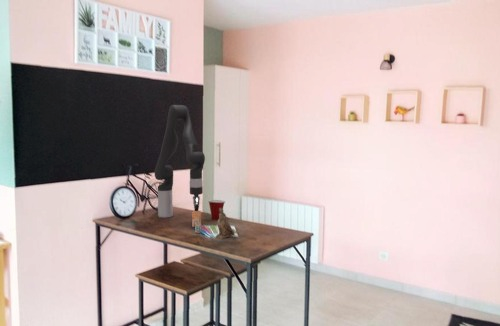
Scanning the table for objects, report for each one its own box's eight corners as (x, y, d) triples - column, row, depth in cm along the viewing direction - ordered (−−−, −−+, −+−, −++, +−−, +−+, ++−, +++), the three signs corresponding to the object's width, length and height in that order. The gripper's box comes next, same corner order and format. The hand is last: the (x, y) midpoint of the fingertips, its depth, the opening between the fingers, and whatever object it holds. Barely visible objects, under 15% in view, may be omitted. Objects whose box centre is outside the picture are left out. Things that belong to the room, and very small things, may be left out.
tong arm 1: (193, 225, 252) (193, 218, 252) (195, 224, 253) (195, 218, 252) (195, 232, 235) (195, 225, 234) (198, 232, 235) (198, 225, 235)
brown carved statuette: (222, 243, 224) (217, 212, 219) (214, 241, 227) (210, 210, 222) (236, 234, 233) (232, 203, 228) (228, 232, 236) (224, 202, 231)
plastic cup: (228, 218, 270) (228, 200, 269) (216, 221, 262) (216, 202, 261) (217, 216, 277) (217, 198, 276) (204, 219, 269) (204, 200, 268)
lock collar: (192, 225, 249) (192, 211, 248) (200, 225, 250) (200, 210, 249) (192, 227, 246) (192, 212, 245) (201, 226, 247) (201, 211, 246)
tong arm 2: (196, 224, 253) (196, 218, 252) (198, 224, 253) (198, 218, 253) (198, 232, 235) (198, 225, 235) (200, 232, 235) (200, 225, 235)
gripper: (203, 187, 243) (203, 217, 245) (201, 183, 256) (201, 212, 258) (190, 188, 242) (190, 217, 244) (189, 184, 255) (189, 212, 257)
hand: (196, 214), depth 251 cm, fingers closed
